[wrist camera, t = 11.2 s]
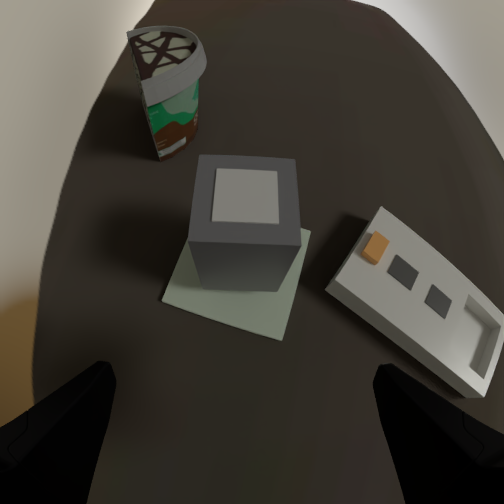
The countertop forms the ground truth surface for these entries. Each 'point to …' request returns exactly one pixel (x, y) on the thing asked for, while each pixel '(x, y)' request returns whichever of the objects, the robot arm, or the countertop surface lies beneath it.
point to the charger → (244, 222)
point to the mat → (236, 297)
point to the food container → (168, 83)
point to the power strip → (421, 304)
